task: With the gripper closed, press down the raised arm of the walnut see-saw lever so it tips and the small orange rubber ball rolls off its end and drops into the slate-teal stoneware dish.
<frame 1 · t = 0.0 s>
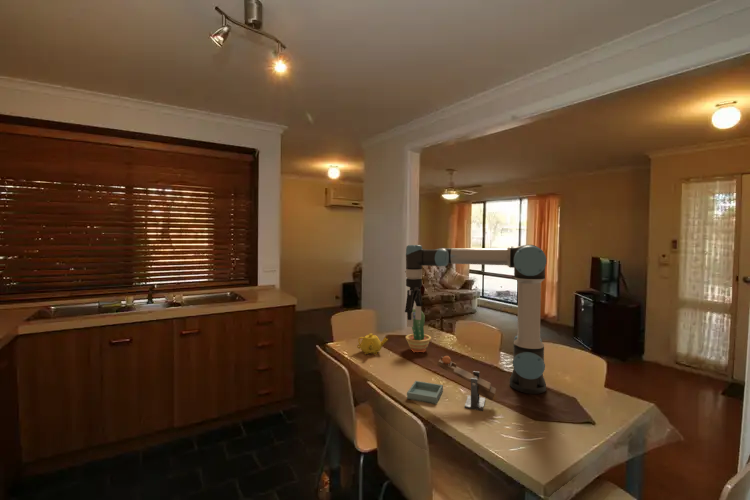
hand: (414, 323, 163), 28 cm above the table, fingers open, 13 cm apart
lever: (465, 377, 143), point 10 cm above the table, hinge at -19.9°, touching ball
dish: (425, 395, 150), on the table
ball: (446, 360, 146), point 17 cm above the table, touching lever
potted cactus: (418, 350, 208), on the table
teapot: (372, 353, 204), on the table
stand: (475, 403, 142), on the table
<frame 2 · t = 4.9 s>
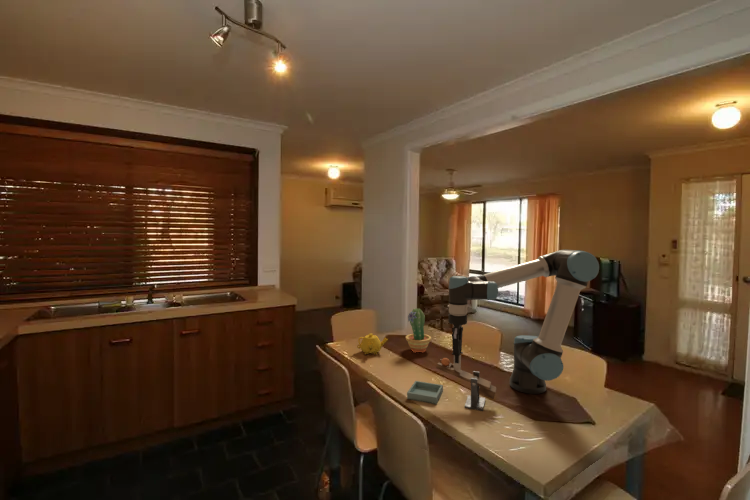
hand: (457, 369, 144), 13 cm above the table, fingers closed
lever: (465, 378, 143), point 10 cm above the table, hinge at -15.5°, touching ball, gripper
ball: (445, 362, 146), point 16 cm above the table, touching lever
everything else where it was.
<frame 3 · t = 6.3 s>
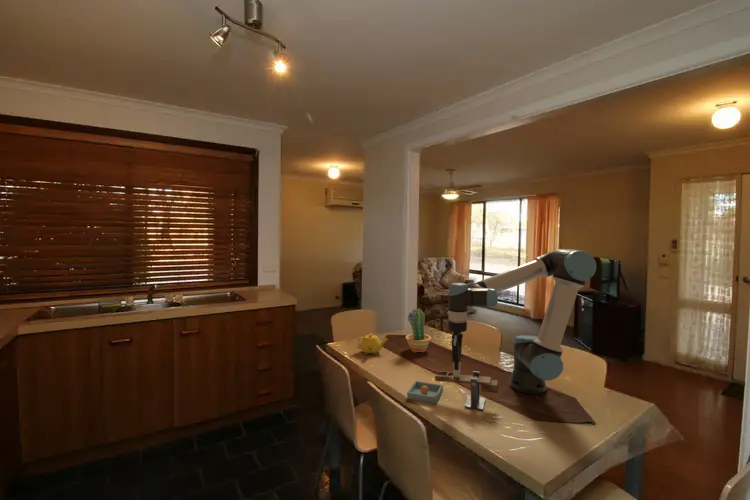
hand: (456, 376, 145), 10 cm above the table, fingers closed
lever: (466, 381, 143), point 9 cm above the table, hinge at 4.3°, touching gripper
ball: (424, 389, 151), point 2 cm above the table, tilted 37°, touching dish
everything else where it was.
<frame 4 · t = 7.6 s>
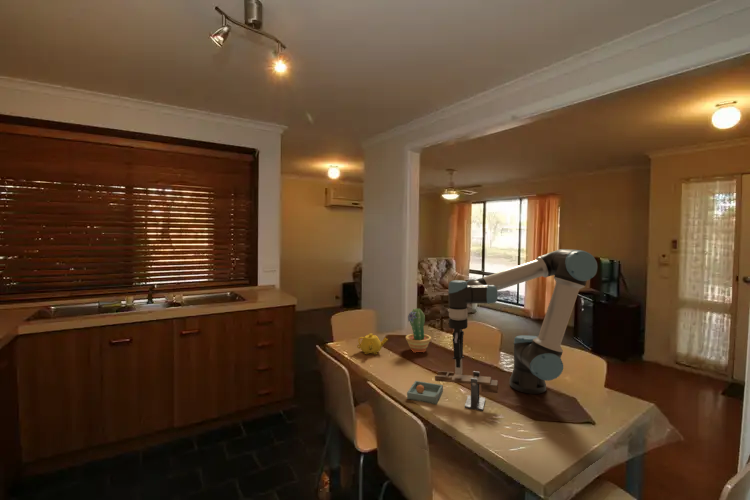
hand: (458, 373, 144), 11 cm above the table, fingers closed
lever: (466, 381, 143), point 9 cm above the table, hinge at 4.5°
ball: (420, 389, 151), point 2 cm above the table, tilted 27°, touching dish
everything else where it was.
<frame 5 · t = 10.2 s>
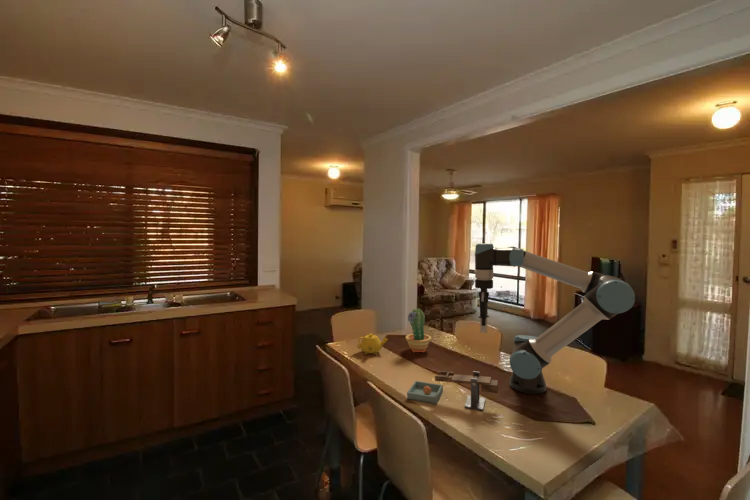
hand: (483, 332, 152), 26 cm above the table, fingers closed
ball: (427, 390, 150), point 2 cm above the table, tilted 77°, touching dish
everything else where it was.
at the end: ball inside the target area on the dish (1.1 cm from its centre), point 2.2 cm above the dish's base; ball touching dish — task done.
